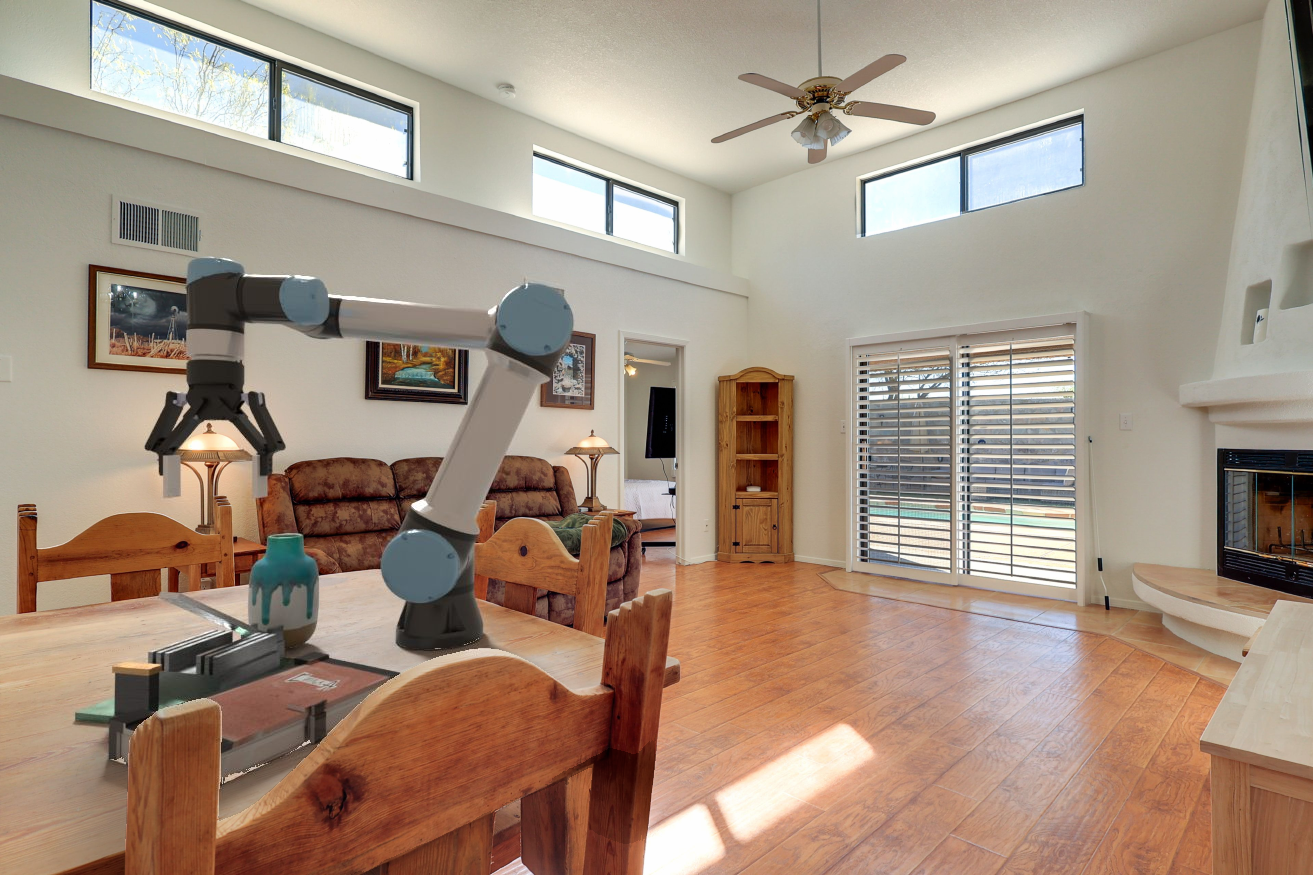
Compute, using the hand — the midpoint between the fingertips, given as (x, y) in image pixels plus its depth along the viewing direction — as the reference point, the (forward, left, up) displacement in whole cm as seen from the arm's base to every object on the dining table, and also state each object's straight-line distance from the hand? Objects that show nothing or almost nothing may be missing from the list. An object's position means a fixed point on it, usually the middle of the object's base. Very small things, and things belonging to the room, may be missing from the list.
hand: (216, 497), depth 103 cm
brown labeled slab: (-24, +17, -27) cm, 40 cm away
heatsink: (-6, +8, -27) cm, 28 cm away
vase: (-3, -11, -27) cm, 29 cm away
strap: (-6, +6, -17) cm, 19 cm away
